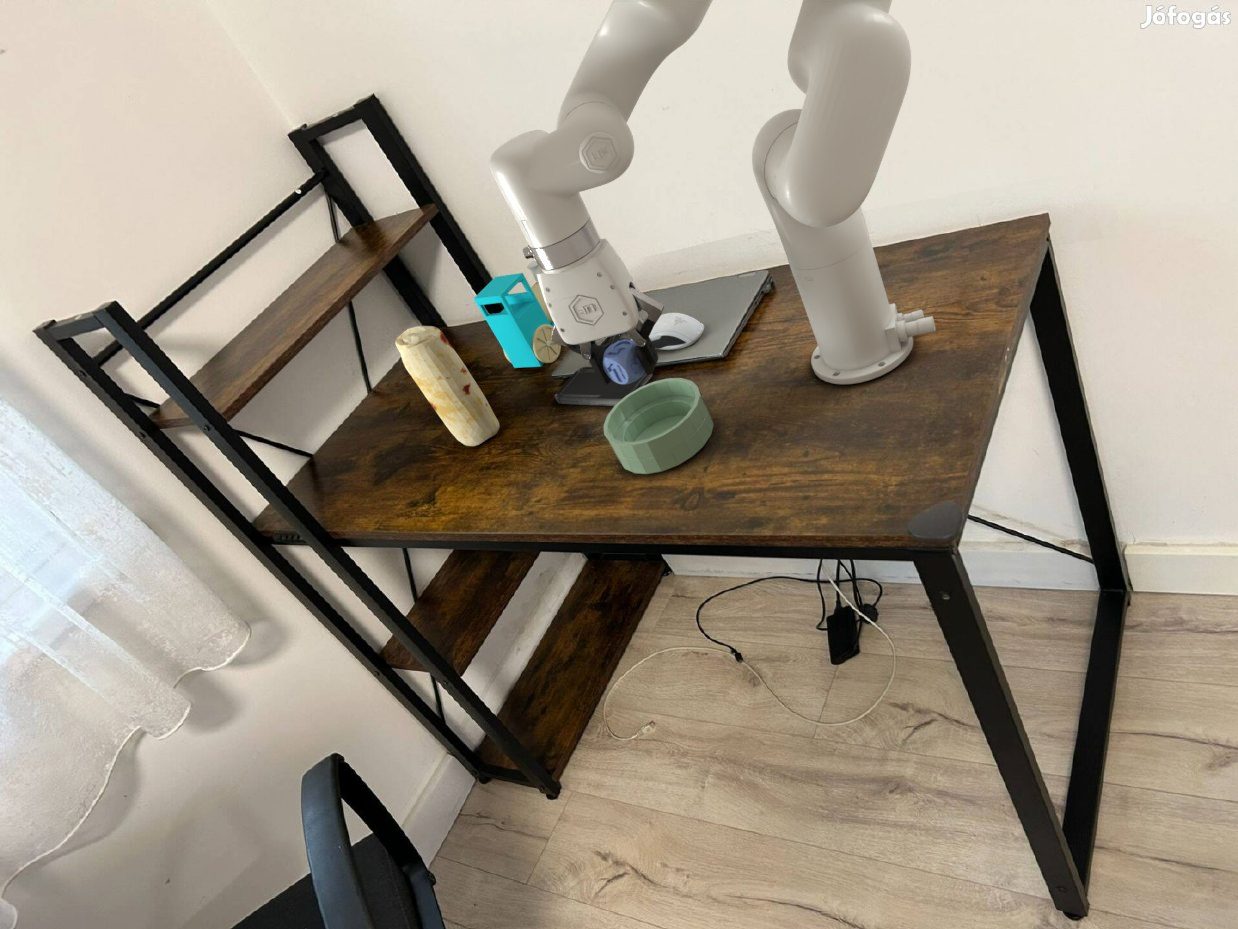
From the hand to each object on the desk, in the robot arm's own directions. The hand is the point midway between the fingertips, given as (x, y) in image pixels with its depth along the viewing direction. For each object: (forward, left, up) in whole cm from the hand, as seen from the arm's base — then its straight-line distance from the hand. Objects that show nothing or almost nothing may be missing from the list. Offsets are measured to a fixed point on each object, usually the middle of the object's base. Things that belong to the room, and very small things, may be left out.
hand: (630, 372), depth 108 cm
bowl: (0, 0, -12) cm, 12 cm away
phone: (+14, -16, -12) cm, 24 cm away
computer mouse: (+8, -27, -12) cm, 31 cm away
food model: (+35, -11, -12) cm, 39 cm away
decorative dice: (0, 0, -1) cm, 1 cm away
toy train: (+29, -35, -12) cm, 47 cm away
